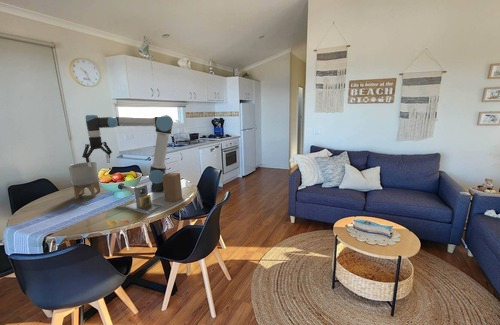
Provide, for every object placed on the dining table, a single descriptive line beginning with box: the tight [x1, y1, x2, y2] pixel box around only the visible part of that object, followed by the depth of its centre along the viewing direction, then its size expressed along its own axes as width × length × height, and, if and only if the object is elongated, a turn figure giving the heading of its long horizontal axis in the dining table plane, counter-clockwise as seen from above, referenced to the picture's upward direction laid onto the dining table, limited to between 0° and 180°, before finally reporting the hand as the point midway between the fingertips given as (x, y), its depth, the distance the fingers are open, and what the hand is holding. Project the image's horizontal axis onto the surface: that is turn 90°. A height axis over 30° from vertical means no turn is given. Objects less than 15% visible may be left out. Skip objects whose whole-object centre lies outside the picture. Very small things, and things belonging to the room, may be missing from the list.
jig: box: [125, 183, 165, 215], centre depth 171 cm, size 24×14×16 cm, turn 60°
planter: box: [67, 161, 101, 200], centre depth 197 cm, size 19×19×26 cm
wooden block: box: [162, 172, 183, 202], centre depth 185 cm, size 10×10×20 cm
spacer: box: [139, 193, 152, 208], centre depth 171 cm, size 2×8×8 cm, turn 150°
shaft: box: [117, 182, 143, 193], centre depth 176 cm, size 24×5×5 cm, turn 60°
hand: (99, 164), depth 181 cm, fingers open, 13 cm apart
